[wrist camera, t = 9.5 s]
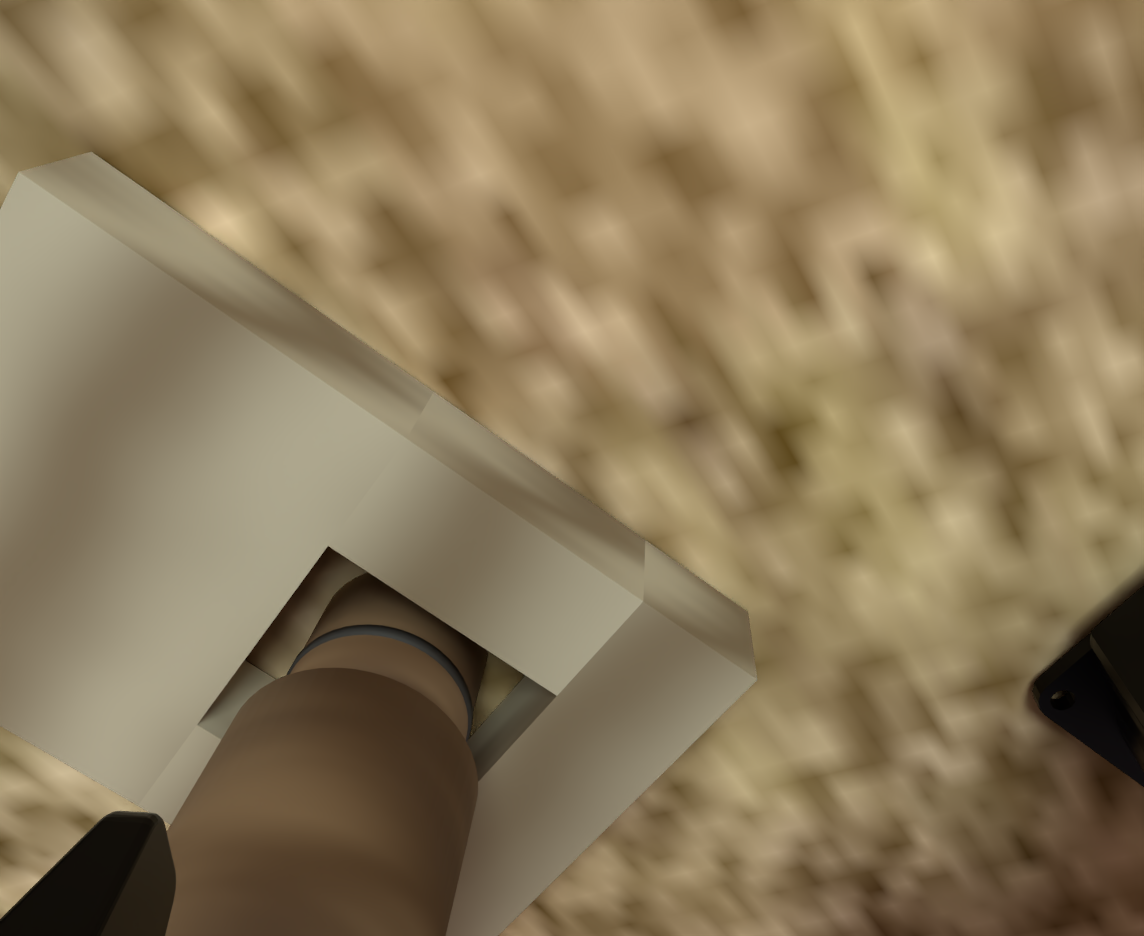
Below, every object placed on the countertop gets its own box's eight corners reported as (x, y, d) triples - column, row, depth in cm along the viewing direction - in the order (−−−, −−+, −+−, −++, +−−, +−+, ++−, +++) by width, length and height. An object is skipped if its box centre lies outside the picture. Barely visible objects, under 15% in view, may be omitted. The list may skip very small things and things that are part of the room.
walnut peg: (552, 629, 24) (456, 1174, 13) (434, 763, 25) (261, 1342, 14) (370, 507, 23) (99, 981, 12) (261, 655, 25) (-62, 1186, 14)
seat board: (747, 612, 23) (757, 679, 21) (465, 902, 27) (447, 986, 25) (91, 151, 20) (18, 171, 18) (-116, 553, 24) (-196, 611, 22)
